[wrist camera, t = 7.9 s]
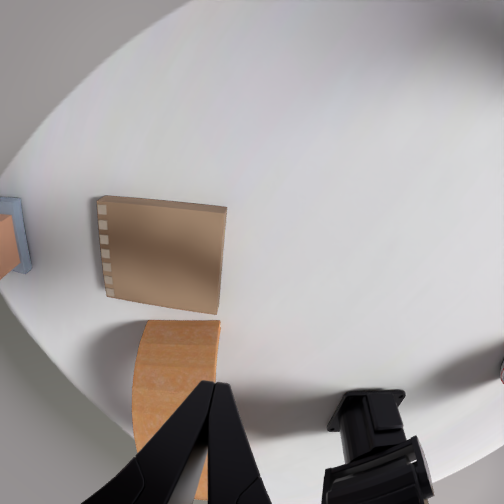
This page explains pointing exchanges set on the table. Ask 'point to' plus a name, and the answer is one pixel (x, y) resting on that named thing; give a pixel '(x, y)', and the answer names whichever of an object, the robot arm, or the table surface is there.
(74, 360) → the table surface
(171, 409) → the arch
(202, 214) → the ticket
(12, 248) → the stub
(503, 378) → the soda can
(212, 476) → the robot arm
